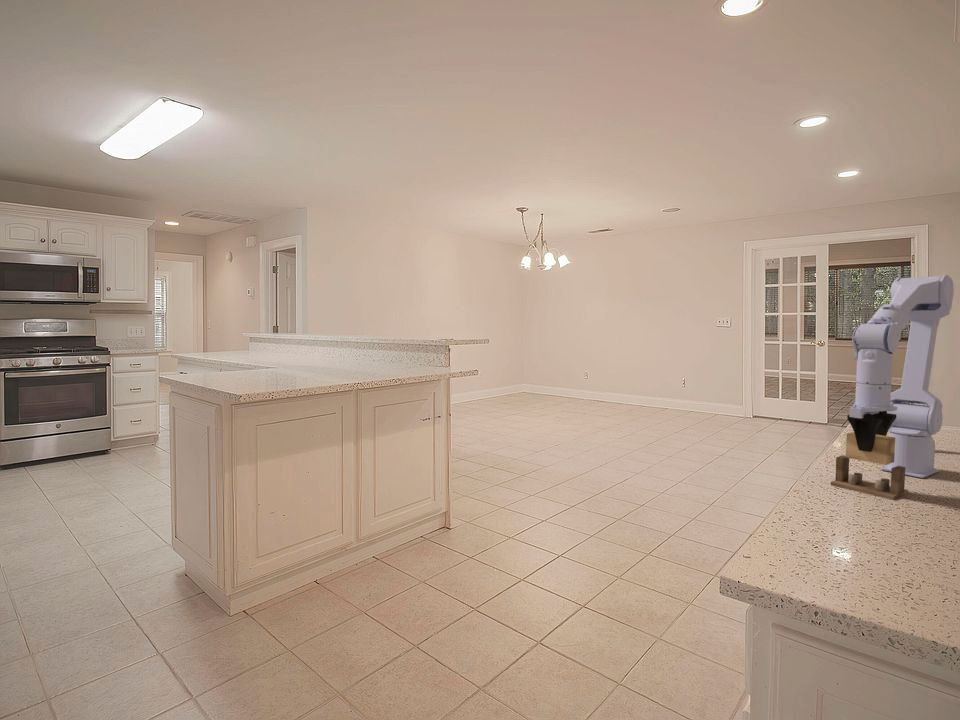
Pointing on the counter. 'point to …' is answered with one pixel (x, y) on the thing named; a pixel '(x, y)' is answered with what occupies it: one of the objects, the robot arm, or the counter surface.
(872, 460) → the block
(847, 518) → the counter surface
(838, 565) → the counter surface
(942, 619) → the counter surface
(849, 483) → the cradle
